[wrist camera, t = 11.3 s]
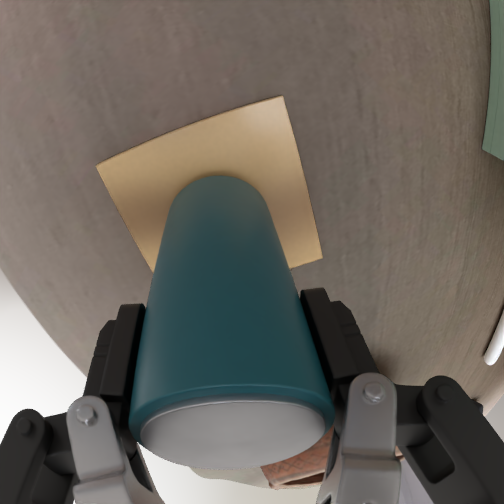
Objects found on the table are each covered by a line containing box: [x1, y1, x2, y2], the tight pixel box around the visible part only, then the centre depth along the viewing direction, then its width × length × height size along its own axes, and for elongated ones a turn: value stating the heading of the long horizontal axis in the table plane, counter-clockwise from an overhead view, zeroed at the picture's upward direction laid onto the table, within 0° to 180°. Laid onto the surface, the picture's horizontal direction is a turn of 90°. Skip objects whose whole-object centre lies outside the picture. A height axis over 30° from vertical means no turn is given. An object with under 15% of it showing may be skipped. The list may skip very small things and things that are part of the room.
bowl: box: [260, 424, 405, 490], centre depth 26 cm, size 16×16×10 cm
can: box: [129, 175, 335, 470], centre depth 11 cm, size 5×5×11 cm
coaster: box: [96, 95, 323, 274], centre depth 17 cm, size 10×10×1 cm
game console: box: [399, 459, 434, 504], centre depth 50 cm, size 6×27×20 cm, turn 43°
